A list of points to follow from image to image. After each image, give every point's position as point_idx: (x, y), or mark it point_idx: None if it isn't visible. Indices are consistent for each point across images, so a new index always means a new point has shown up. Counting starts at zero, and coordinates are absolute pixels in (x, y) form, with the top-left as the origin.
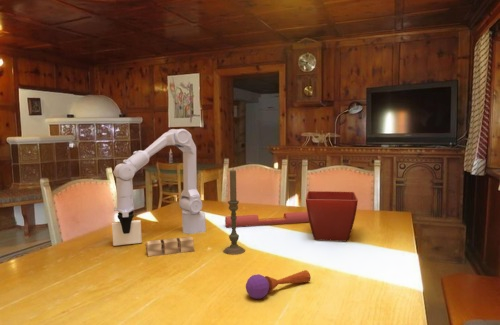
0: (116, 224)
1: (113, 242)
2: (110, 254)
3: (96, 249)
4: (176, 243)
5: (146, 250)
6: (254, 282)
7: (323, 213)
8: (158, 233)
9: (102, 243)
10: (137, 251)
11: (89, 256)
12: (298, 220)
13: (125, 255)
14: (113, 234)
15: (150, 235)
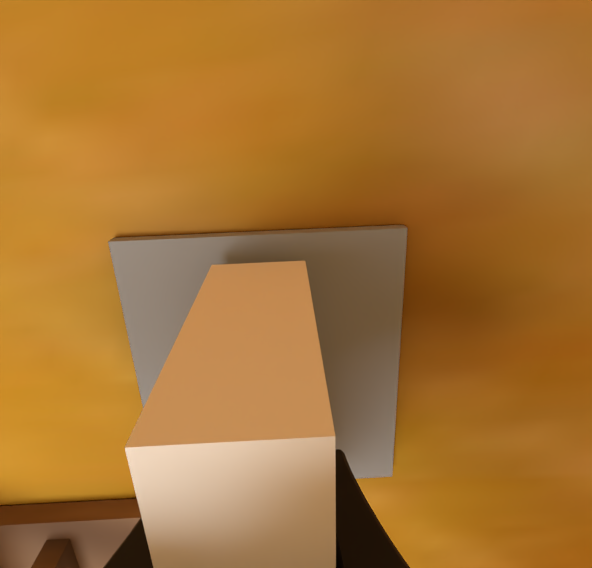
0: (144, 511)
1: (205, 283)
2: (59, 237)
3: (273, 60)
4: None
5: (39, 523)
6: None
7: None
8: (558, 561)
9: (494, 109)
10: (111, 446)
11: (13, 3)
12: None
13: (13, 367)
14: (185, 335)
15: (534, 516)
